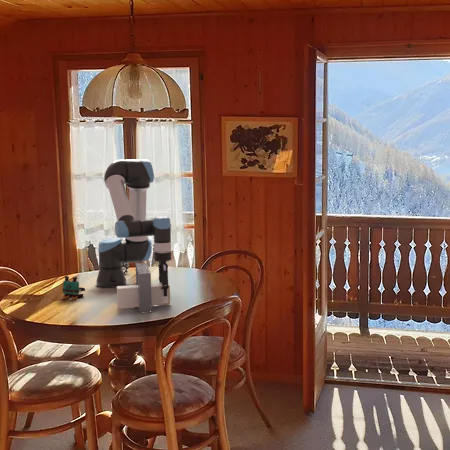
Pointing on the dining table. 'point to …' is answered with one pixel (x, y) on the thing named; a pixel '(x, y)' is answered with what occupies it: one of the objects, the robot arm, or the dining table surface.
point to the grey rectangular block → (130, 299)
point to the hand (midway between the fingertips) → (164, 299)
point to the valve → (124, 267)
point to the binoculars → (72, 288)
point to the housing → (144, 287)
